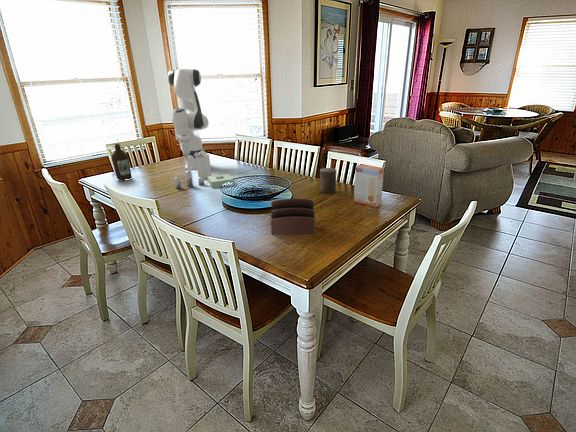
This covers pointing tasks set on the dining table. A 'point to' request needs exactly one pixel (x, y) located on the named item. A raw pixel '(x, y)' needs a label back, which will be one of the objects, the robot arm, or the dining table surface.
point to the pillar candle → (327, 180)
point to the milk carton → (203, 164)
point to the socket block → (219, 180)
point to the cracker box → (368, 185)
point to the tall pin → (189, 179)
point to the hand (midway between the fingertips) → (186, 158)
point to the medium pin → (177, 182)
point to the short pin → (201, 181)
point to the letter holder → (292, 217)
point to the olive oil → (121, 163)
